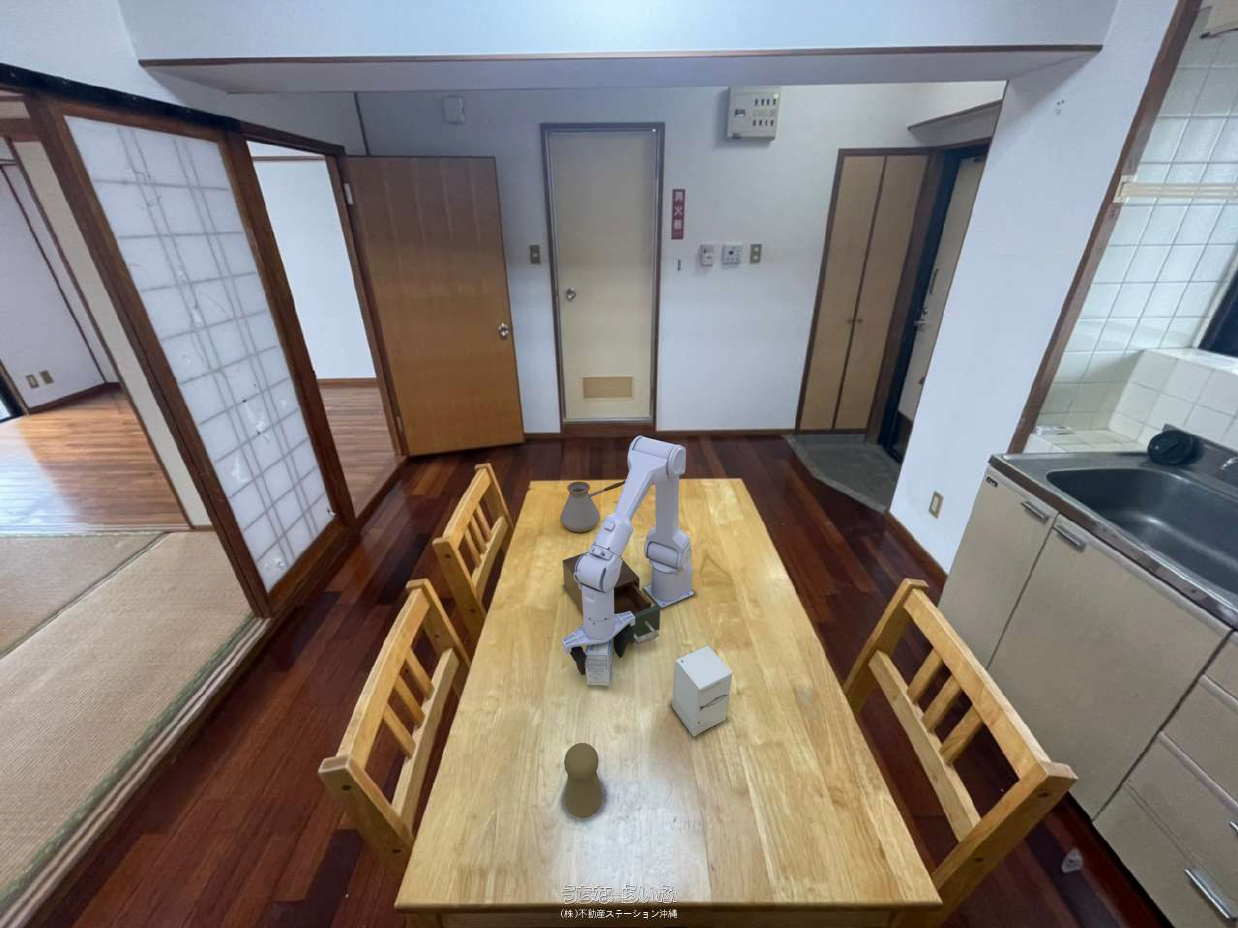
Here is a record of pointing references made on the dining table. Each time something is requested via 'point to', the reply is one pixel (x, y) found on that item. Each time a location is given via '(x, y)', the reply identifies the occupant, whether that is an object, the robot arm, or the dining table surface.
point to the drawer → (638, 612)
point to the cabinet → (572, 586)
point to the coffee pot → (582, 507)
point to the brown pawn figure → (582, 781)
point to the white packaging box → (701, 689)
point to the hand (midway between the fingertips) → (600, 662)
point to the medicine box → (599, 663)
